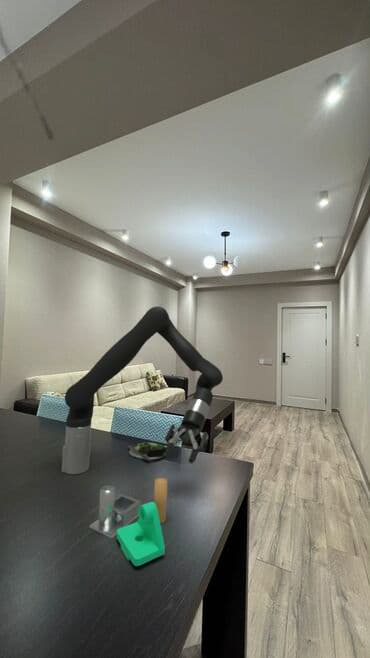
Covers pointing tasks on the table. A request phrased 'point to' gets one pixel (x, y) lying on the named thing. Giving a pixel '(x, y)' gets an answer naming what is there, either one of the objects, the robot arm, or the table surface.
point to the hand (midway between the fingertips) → (178, 459)
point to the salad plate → (148, 451)
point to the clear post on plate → (114, 511)
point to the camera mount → (142, 536)
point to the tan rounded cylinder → (161, 497)
